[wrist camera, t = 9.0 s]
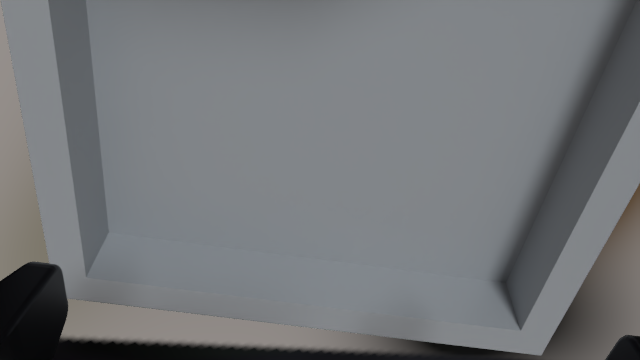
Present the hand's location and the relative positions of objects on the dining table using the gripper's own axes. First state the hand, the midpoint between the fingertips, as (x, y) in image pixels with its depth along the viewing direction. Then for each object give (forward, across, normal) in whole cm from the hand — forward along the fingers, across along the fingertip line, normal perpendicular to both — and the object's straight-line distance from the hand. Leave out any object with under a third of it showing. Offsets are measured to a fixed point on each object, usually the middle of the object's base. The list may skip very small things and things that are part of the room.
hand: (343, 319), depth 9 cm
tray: (+9, 0, 0) cm, 9 cm away
